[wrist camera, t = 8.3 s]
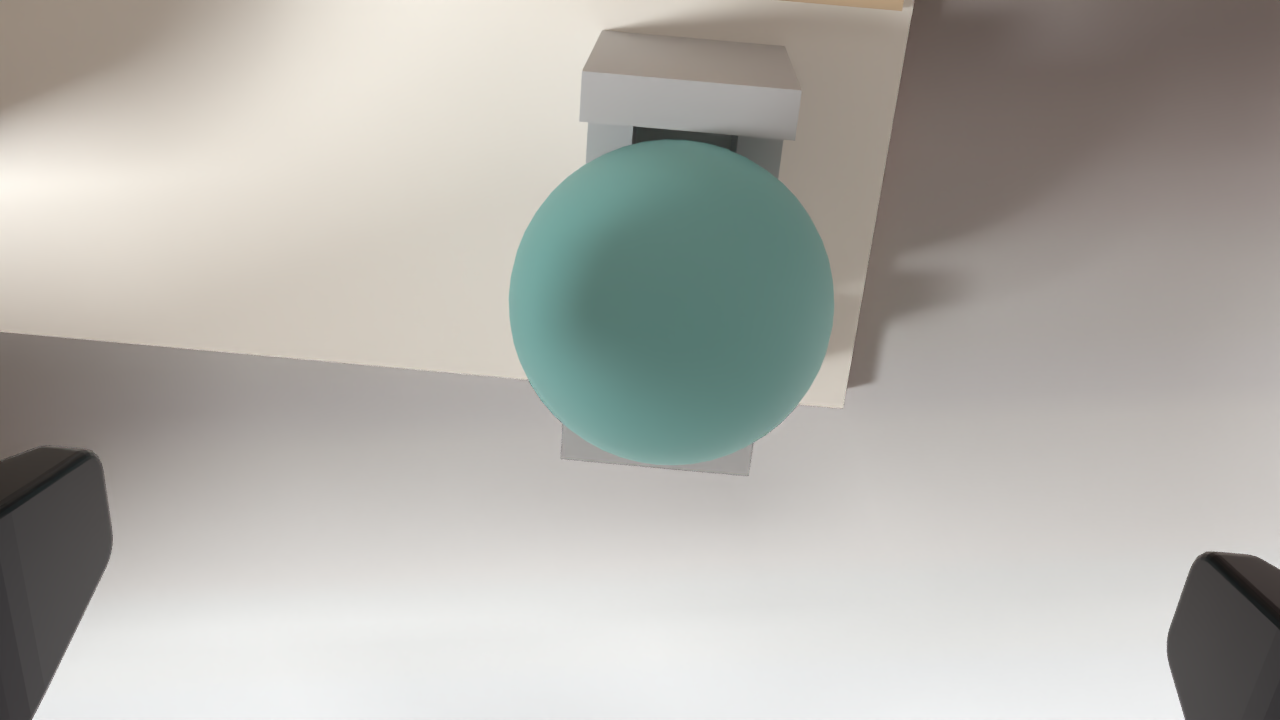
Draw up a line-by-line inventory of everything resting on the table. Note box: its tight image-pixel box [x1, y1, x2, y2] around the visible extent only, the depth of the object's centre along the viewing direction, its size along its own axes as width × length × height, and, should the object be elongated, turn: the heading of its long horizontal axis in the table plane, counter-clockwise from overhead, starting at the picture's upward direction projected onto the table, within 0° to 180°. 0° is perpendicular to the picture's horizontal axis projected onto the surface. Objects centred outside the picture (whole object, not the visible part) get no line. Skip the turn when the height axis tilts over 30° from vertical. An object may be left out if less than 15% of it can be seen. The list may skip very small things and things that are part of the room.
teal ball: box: [509, 139, 834, 465], centre depth 14 cm, size 4×4×4 cm
